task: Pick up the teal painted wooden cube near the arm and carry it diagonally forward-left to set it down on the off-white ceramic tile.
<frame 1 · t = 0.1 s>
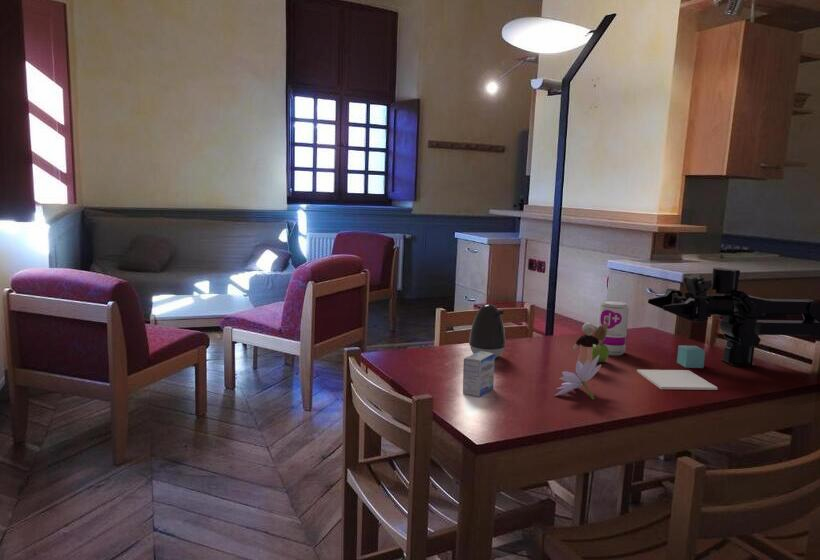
hand: (655, 304, 165), 17 cm above the table, tool horizontal, fingers open, 9 cm apart
grandmother figurine: (586, 369, 160), on the table
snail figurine: (598, 362, 167), on the table
tile: (675, 380, 152), on the table
medicine box: (477, 392, 140), on the table
supplement can: (610, 353, 177), on the table
cube: (689, 365, 166), on the table
water lily: (576, 395, 140), on the table
pump dispenser: (486, 357, 169), on the table
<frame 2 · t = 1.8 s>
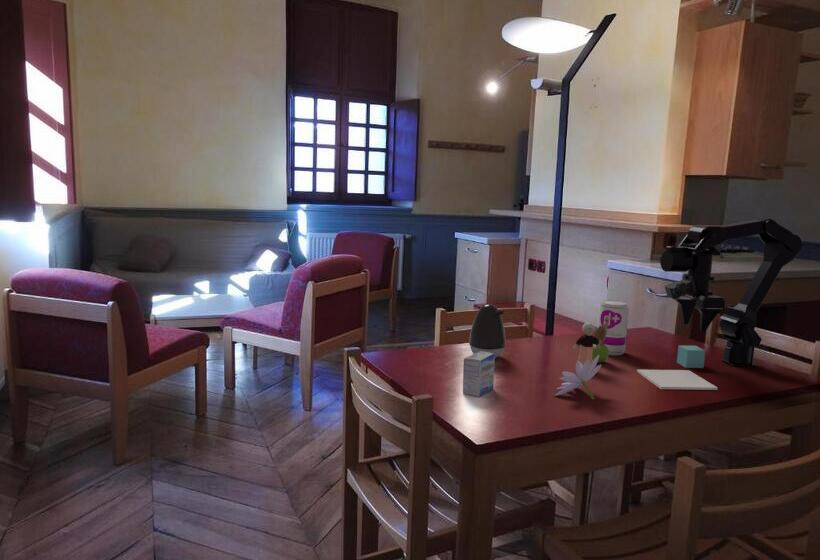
hand: (694, 327, 165), 11 cm above the table, tool pointing down, fingers open, 9 cm apart
nothing on the table moved.
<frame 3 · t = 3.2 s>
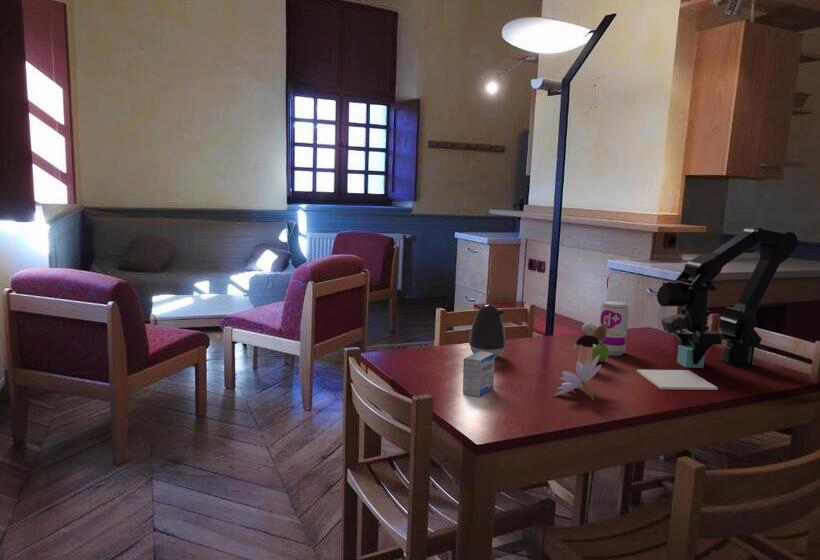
hand: (690, 361, 166), 1 cm above the table, tool pointing down, fingers closed on cube, 5 cm apart
cube: (689, 365, 166), on the table, touching gripper
everything else where it was.
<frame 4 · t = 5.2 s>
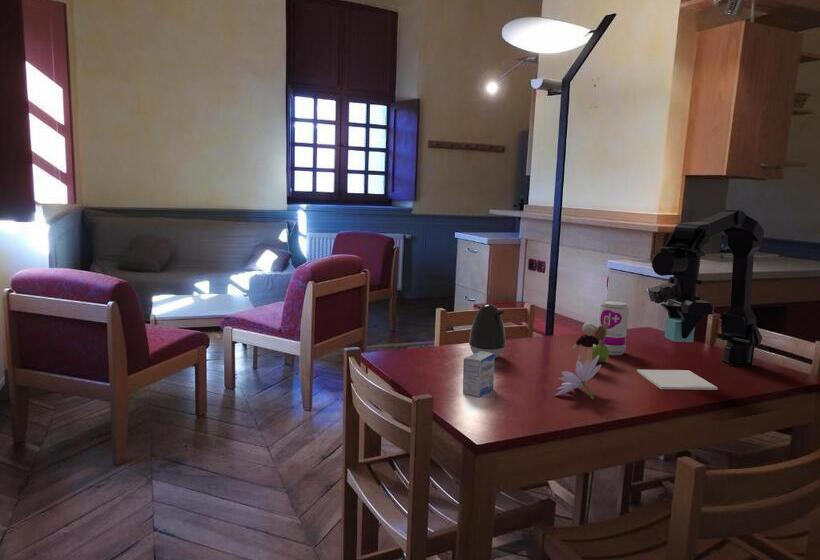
hand: (679, 335, 151), 12 cm above the table, tool pointing down, fingers closed on cube, 5 cm apart
cube: (678, 339, 151), point 11 cm above the table, touching gripper
everything else where it was.
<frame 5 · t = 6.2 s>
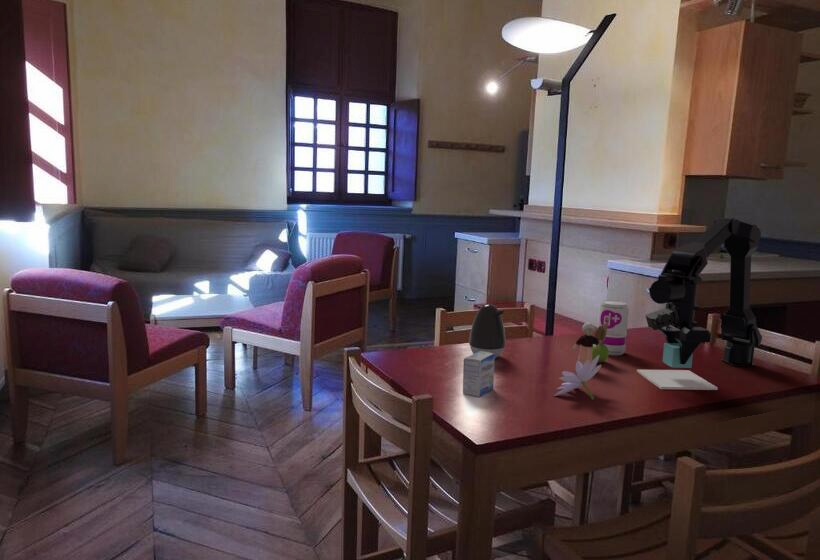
hand: (677, 360, 151), 5 cm above the table, tool pointing down, fingers closed on cube, 5 cm apart
cube: (676, 364, 151), point 4 cm above the table, touching gripper
everything else where it was.
when the fingers open (2 cm above the table, at t = 7.0 s): cube stays where it is, resting on tile.
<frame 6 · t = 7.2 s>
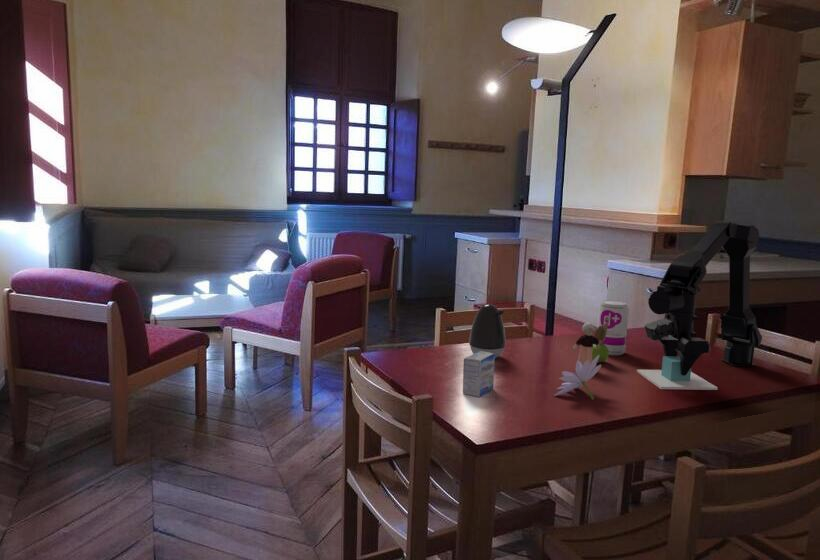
hand: (676, 370, 152), 2 cm above the table, tool pointing down, fingers open, 7 cm apart
cube: (675, 378, 152), point 1 cm above the table, touching tile
everything else where it was.
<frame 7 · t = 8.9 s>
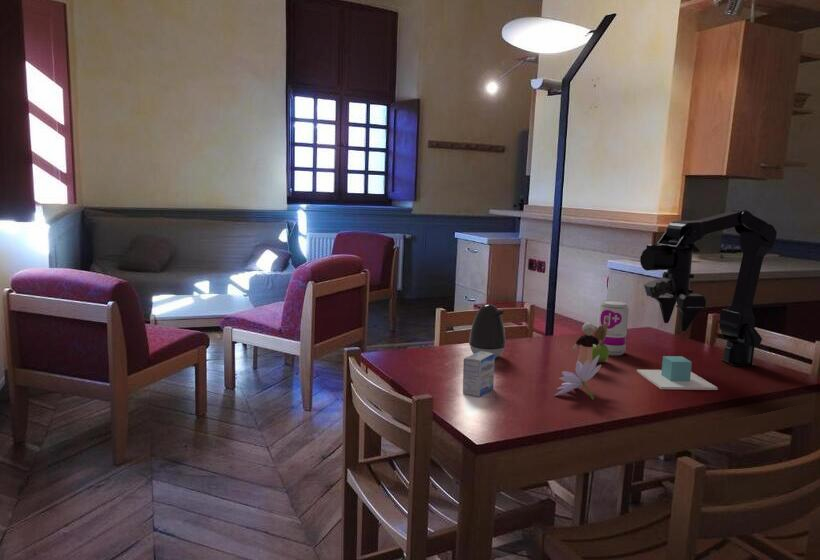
hand: (674, 326, 161), 12 cm above the table, tool pointing down, fingers open, 9 cm apart
nothing on the table moved.
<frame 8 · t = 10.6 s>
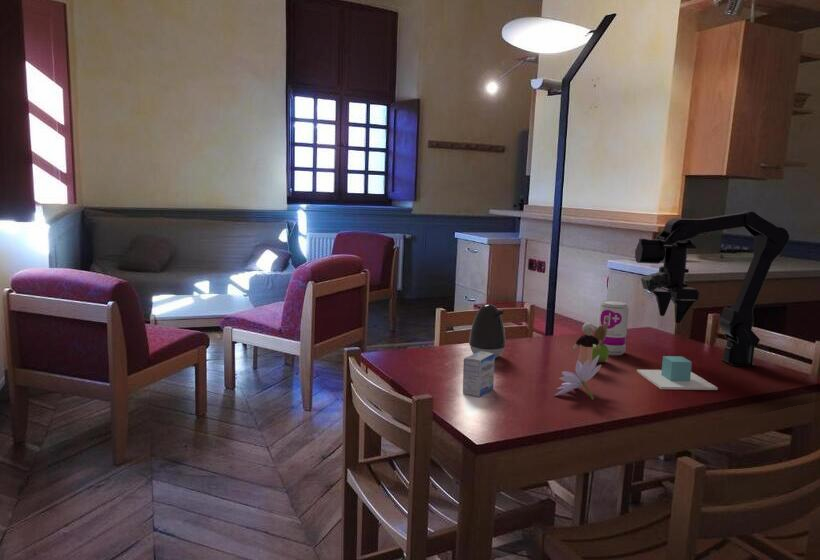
hand: (669, 319, 168), 12 cm above the table, tool pointing down, fingers open, 9 cm apart
nothing on the table moved.
at the end: cube inside the target area on the tile (0.1 cm from its centre), point 0.6 cm above the tile's base; cube tilted 0°; the gripper is holding nothing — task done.
